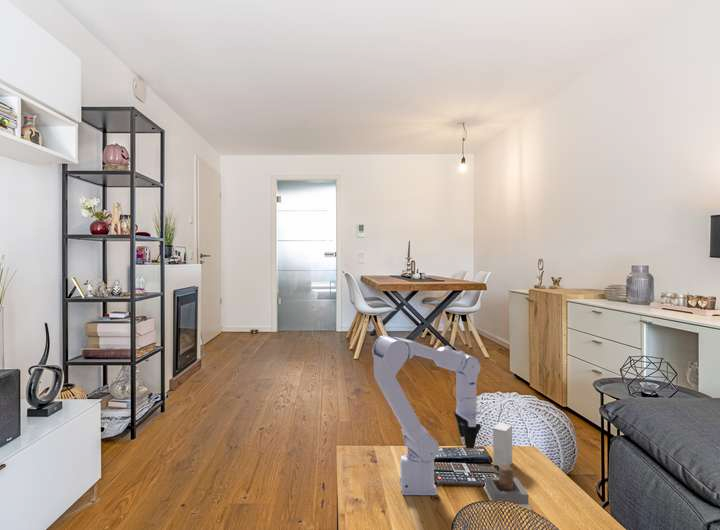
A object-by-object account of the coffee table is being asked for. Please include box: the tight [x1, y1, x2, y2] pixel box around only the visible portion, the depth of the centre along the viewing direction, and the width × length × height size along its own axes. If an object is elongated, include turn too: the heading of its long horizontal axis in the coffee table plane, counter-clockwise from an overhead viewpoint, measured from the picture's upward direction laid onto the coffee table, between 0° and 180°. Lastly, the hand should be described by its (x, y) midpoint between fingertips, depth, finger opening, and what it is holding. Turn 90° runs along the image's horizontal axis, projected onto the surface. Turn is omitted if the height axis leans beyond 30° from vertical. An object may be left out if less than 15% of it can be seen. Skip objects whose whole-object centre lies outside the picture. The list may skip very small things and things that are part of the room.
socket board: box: [483, 476, 533, 511], centre depth 113 cm, size 9×12×4 cm
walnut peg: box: [498, 466, 514, 491], centre depth 113 cm, size 4×4×7 cm
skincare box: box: [492, 422, 513, 467], centre depth 132 cm, size 6×4×12 cm
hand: (466, 442), depth 124 cm, fingers open, 7 cm apart
